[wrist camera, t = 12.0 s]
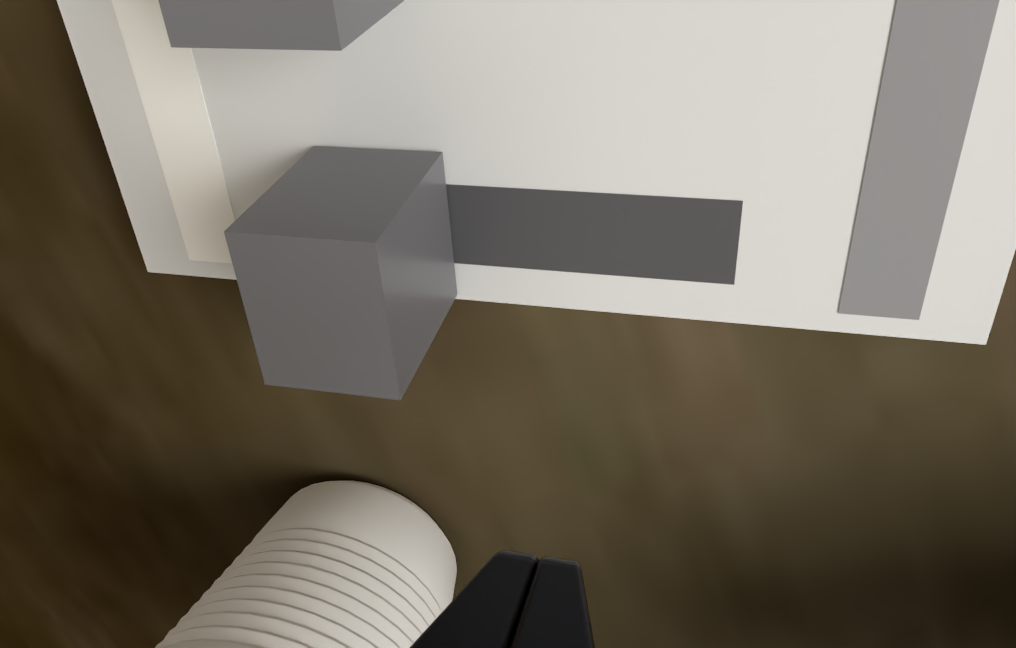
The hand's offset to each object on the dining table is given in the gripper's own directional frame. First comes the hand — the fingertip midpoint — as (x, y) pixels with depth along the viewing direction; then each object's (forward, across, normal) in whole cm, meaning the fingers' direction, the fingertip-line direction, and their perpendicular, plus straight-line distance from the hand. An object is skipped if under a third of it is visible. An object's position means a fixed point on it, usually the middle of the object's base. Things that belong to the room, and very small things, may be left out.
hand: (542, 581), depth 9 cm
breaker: (+11, +6, +2) cm, 13 cm away
